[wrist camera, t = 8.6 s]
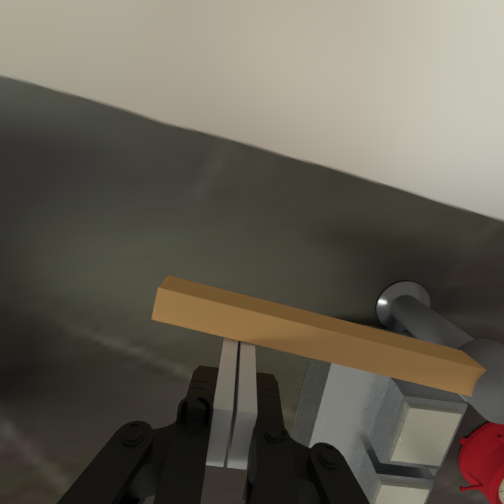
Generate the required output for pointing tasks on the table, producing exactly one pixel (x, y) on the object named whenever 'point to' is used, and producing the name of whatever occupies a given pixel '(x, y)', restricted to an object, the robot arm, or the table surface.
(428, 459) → the grey boxy piece
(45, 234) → the table surface
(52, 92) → the table surface
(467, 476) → the alarm clock
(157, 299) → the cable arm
